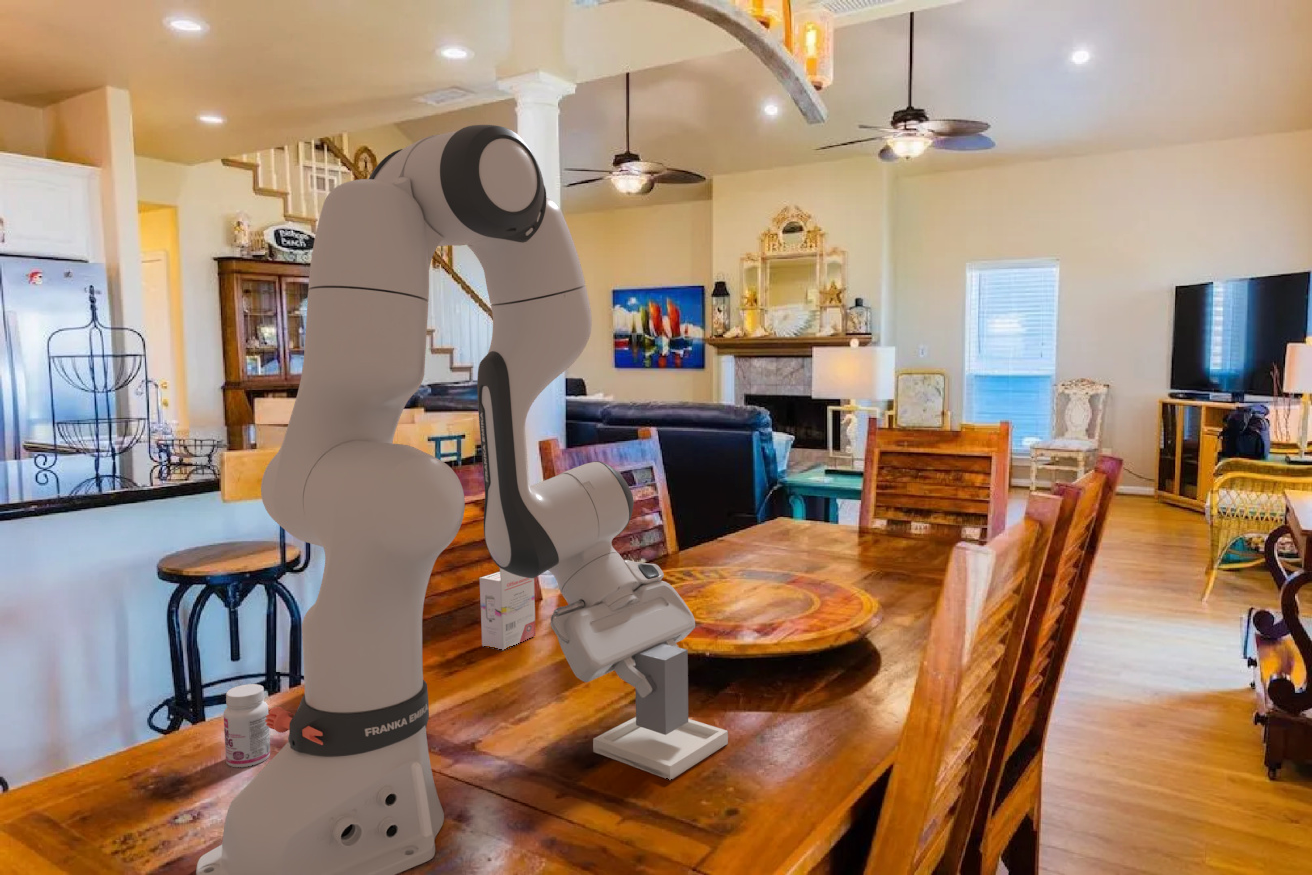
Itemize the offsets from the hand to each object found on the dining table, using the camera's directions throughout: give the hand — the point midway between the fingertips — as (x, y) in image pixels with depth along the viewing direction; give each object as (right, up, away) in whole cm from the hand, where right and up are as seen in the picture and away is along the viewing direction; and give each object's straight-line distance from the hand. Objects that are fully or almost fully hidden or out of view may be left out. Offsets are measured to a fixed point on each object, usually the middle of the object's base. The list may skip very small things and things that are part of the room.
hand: (666, 685), depth 101 cm
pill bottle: (-49, -9, -1) cm, 50 cm away
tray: (-1, -8, +1) cm, 8 cm away
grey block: (0, -5, +1) cm, 5 cm away
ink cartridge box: (-26, -5, +41) cm, 49 cm away
